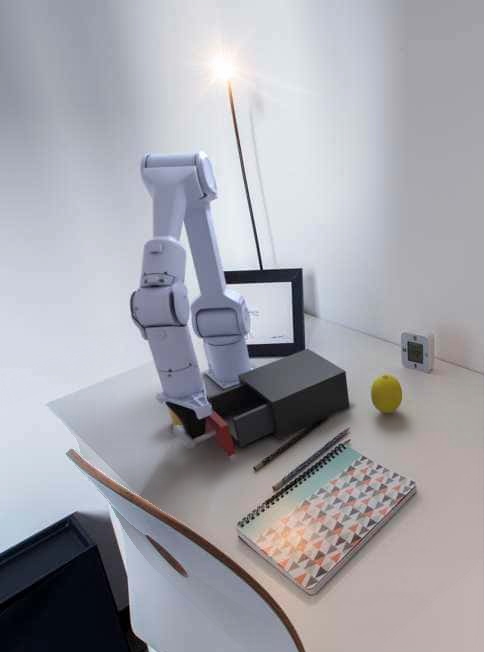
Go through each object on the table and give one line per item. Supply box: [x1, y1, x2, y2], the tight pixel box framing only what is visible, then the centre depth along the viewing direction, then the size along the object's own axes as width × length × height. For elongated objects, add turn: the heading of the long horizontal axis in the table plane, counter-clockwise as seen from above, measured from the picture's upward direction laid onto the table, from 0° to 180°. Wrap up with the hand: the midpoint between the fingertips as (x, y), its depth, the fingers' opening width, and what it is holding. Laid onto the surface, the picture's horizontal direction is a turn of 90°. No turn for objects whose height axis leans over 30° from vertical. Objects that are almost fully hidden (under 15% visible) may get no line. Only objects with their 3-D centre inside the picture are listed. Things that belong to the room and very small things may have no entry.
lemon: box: [370, 373, 403, 415], centre depth 94 cm, size 6×6×8 cm
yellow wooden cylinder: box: [167, 406, 182, 427], centre depth 94 cm, size 4×4×4 cm
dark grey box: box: [238, 348, 350, 440], centre depth 96 cm, size 15×13×8 cm
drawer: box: [172, 383, 276, 457], centre depth 89 cm, size 18×11×6 cm, turn 132°
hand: (197, 436), depth 86 cm, fingers closed, pressing on drawer
